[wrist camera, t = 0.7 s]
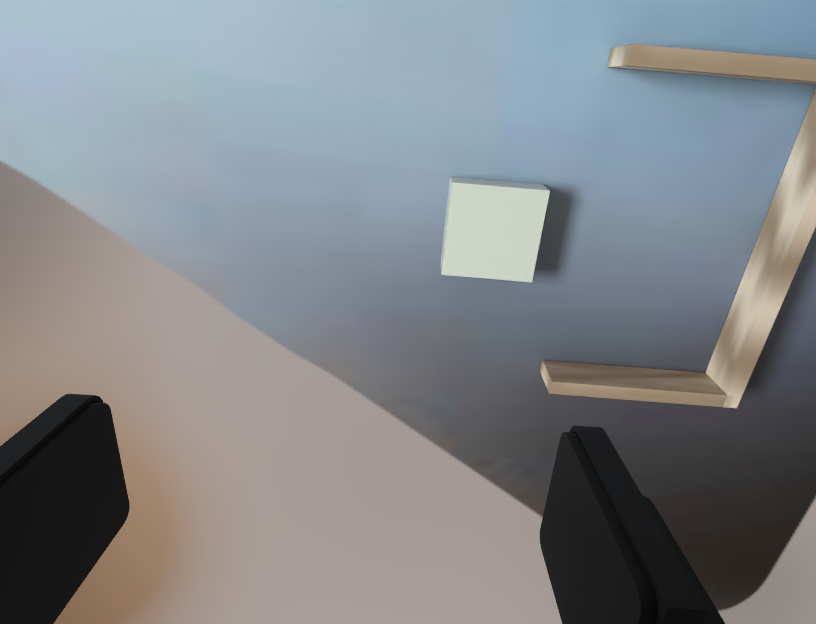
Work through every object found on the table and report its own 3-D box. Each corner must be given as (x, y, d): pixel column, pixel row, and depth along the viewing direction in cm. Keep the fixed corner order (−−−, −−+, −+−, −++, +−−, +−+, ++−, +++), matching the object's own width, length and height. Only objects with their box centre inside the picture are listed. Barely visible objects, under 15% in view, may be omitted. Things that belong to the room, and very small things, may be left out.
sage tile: (449, 175, 32) (451, 182, 30) (541, 183, 32) (550, 190, 30) (440, 262, 35) (441, 274, 32) (524, 269, 35) (531, 282, 32)
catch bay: (611, 47, 28) (631, 44, 26) (841, 67, 29) (885, 65, 26) (540, 371, 38) (549, 393, 35) (714, 384, 38) (736, 408, 35)
